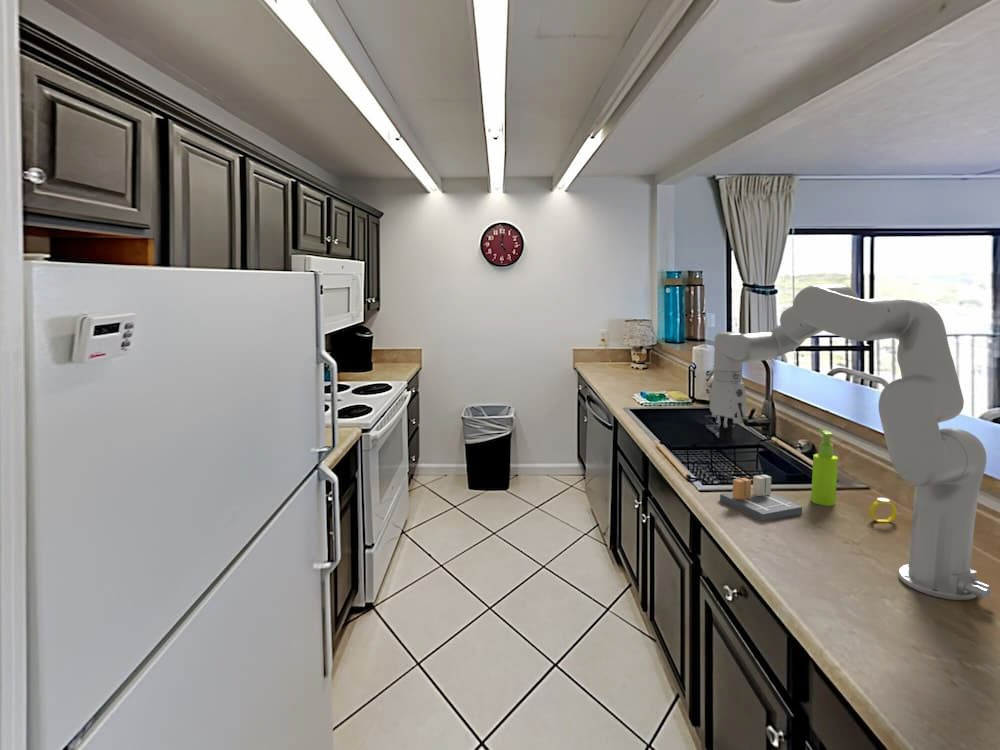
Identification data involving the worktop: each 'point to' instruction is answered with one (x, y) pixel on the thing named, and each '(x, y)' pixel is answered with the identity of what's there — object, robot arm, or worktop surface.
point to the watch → (883, 501)
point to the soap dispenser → (824, 473)
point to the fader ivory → (762, 485)
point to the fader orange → (741, 488)
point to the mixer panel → (763, 506)
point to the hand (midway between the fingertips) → (725, 439)
